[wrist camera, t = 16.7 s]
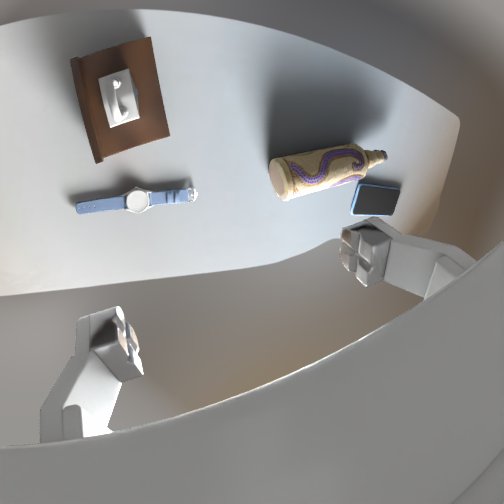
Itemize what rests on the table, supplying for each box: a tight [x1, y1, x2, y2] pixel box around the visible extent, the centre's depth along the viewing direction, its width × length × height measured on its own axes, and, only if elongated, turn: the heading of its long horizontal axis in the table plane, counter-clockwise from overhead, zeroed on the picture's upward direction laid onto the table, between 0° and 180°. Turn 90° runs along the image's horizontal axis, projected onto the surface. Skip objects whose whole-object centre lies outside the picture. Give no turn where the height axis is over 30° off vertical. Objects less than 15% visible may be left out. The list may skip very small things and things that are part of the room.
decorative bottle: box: [269, 144, 387, 201], centre depth 50 cm, size 26×8×7 cm, turn 97°
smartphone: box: [351, 184, 400, 216], centre depth 63 cm, size 7×1×15 cm
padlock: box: [98, 69, 139, 128], centre depth 24 cm, size 7×4×15 cm, turn 8°
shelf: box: [70, 37, 170, 164], centre depth 31 cm, size 10×14×8 cm
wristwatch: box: [76, 187, 197, 214], centre depth 43 cm, size 4×20×1 cm, turn 85°
